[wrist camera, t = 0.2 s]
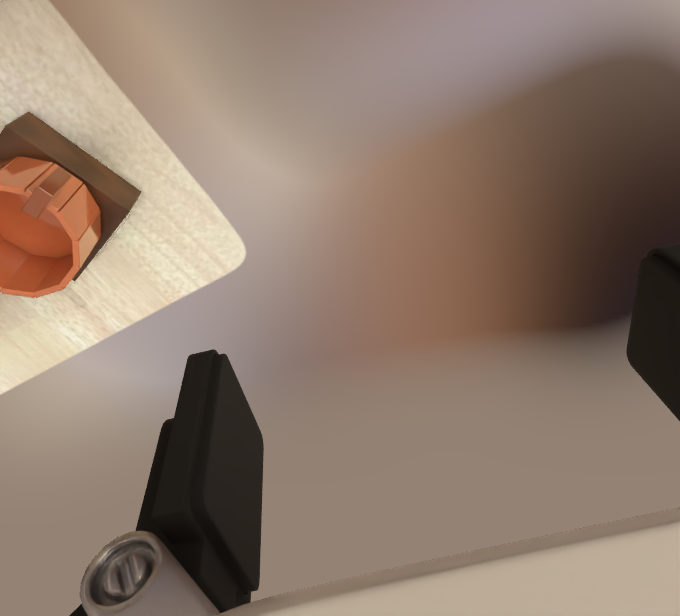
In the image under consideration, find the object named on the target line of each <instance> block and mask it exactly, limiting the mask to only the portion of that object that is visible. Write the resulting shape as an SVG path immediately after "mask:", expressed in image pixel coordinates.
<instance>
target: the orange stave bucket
mask: <svg viewBox="0 0 680 616" xmlns="http://www.w3.org/2000/svg"><path fill="white" fill-rule="evenodd" d="M82 183H83V182H82V181H80V180H79V179H77V178H76V177H74V176H73V175H71V174H70V173H69V172H67V171H66V170H64V169H63V168H61V167H60V166H58V165H57V164H54V165H53V162H48V161H42V160H37V159H32V158H27V157H21V156H20V157H15V158H12V159H9V160H6V161H3V162H0V292H2V294H10V295H17V296H24V297H32V298H35V297H36V298H37V297H40V296H44V295H47V294H50V293H53V292H56V291H60V290H63V289H64V288H65V287H66V286H67V285H68V284H69V282H70V281H71V280H72V278H73V277H74V276H75V275H76V273H77V272H78V271H79V269H80V268H81V266H82V265H83V263H84V262H85V260H86V259H87V257H88V255H89V254H90V252H91V251H92V249H93V248H94V246H95V245H96V243H97V241H98V240H99V238H100V236H101V223H100V211H99V210H100V209H99V207H98V205H97V204H96V202H95V200H94V199H93V197H92V196H91V194H90V192H89V191H88V189H87V187H86V186H85V184H82Z"/></svg>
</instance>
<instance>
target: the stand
mask: <svg viewBox="0 0 680 616" xmlns="http://www.w3.org/2000/svg"><path fill="white" fill-rule="evenodd" d="M20 156H21V157H27V158H32V159H37V160H42V161H48V162H53V165H54V164H57V165H58V166H60V167H61V168H63V169H64V170H66V171H67V172H69V173H70V174H71V175H73V176H74V177H76V178H77V179H79V180H80V181H82V182H83V183H82V184H85V186H86V187H87V189H88V191H89V192H90V194H91V196H92V197H93V199H94V200H95V202H96V204H97V205H98V207H99V209H100V210H99V211H100V223H101V236H100V238H99V240H98V241H97V243H96V245H95V246H94V248H93V249H92V251H91V252H90V254H89V255H88V257H87V259H86V260H85V262H84V263H83V265H82V266H81V268H80V269H79V271H78V272H77V273H76V275H75V276H74V277H73V278H72V280H74V281H76V279H77V278H78V277H79V276H80V274H81V273H82V272H83V270H84V269H85V268H86V267H87V265H88V264H89V263H90V261H91V260H92V259H93V258H94V256H95V255H96V254H97V253H98V251H99V250H100V249H101V247H102V246H103V245H104V244H105V242H106V241H107V240H108V238H109V237H110V236H111V235H112V233H113V232H114V231H115V230H116V228H117V227H118V226H119V224H120V223H121V222H122V221H123V219H124V218H125V217H126V216H127V214H128V213H129V212H130V210H131V208H132V207H133V205H134V203H135V202H136V200H137V198H138V197H139V195H140V193H141V191H139V190H138V189H136V188H135V187H134V186H132V185H131V184H129V183H128V182H127V181H125V180H124V179H122V178H121V177H120V176H118V175H117V174H115V173H114V172H113V171H111V170H110V169H108V168H107V167H106V166H104V165H103V164H101V163H100V162H99V161H97V160H96V159H94V158H93V157H92V156H90V155H89V154H87V153H86V152H85V151H83V150H82V149H80V148H79V147H78V146H76V145H75V144H73V143H72V142H71V141H69V140H68V139H66V138H65V137H64V136H62V135H61V134H59V133H58V132H57V131H55V130H54V129H52V128H51V127H50V126H48V125H47V124H45V123H44V122H43V121H41V120H40V119H38V118H37V117H36V116H34V115H33V114H31V113H30V112H27V113H26V114H24V115H22V116H21V117H19V118H17V119H16V120H14V121H12V122H11V123H9V124H7V125H6V126H5V127H4V129H3V131H2V132H1V134H0V162H3V161H6V160H9V159H12V158H15V157H20Z"/></svg>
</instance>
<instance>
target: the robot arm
mask: <svg viewBox="0 0 680 616" xmlns="http://www.w3.org/2000/svg"><path fill="white" fill-rule="evenodd" d="M627 357H628V360H629V362H630V364H631V366H632V367H633V368H634V369H635V371H636V372H637V373H638V374H639V375H640V376H641V377H642V379H643V380H644V381H645V382H646V383H647V384H648V385H649V386H650V388H651V389H652V390H653V391H654V392H655V393H656V395H657V396H658V397H659V398H660V399H661V400H662V401H663V403H664V404H665V405H666V406H667V407H668V408H669V409H670V411H671V412H672V413H673V414H674V415H675V416H676V417H677V419H678V420H679V421H680V243H678V244H673V245H669V246H664V247H660V248H656V249H652V250H651V251H650V252H649V253H648V255H647V257H646V258H644V259H643V260H642V261H641V264H640V269H639V275H638V282H637V288H636V294H635V300H634V307H633V313H632V319H631V325H630V332H629V338H628V344H627ZM263 449H264V448H263V438H262V434H261V431H260V429H259V427H258V425H257V422H256V420H255V418H254V415H253V413H252V411H251V409H250V407H249V404H248V402H247V400H246V397H245V395H244V393H243V391H242V388H241V386H240V384H239V382H238V380H237V377H236V375H235V373H234V370H233V368H232V366H231V364H230V361H229V359H228V357H227V355H226V354H220V355H219V354H218V353H217V351H216V350H209V351H205V352H200V353H196V354H192V355H190V356H189V357H188V359H187V364H186V368H185V373H184V377H183V381H182V386H181V390H180V394H179V399H178V403H177V407H176V412H175V416H174V418H172V419H168V420H166V421H165V422H164V423H163V426H162V428H161V432H160V436H159V440H158V444H157V449H156V452H155V456H154V460H153V464H152V468H151V472H150V476H149V480H148V484H147V488H146V492H145V496H144V500H143V503H142V507H141V511H140V515H139V519H138V523H137V527H136V531H135V532H129V533H127V534H124V535H122V536H120V537H117V538H116V539H114V540H113V541H112V542H110V543H109V544H107V545H106V546H105V547H104V548H103V549H102V550H101V551H100V552H99V553H98V554H97V555H96V556H95V557H94V559H93V560H92V561H91V563H90V564H89V566H88V567H87V569H86V571H85V574H84V576H83V579H82V582H81V587H80V598H81V602H82V604H81V605H80V606H79V607H78V608H77V609H76V610H75V611H74V612H73V613H72V614H71V615H70V616H680V508H675V509H671V510H666V511H661V512H656V513H652V514H647V515H642V516H636V517H632V518H627V519H622V520H617V521H613V522H608V523H603V524H598V525H594V526H589V527H584V528H579V529H574V530H570V531H565V532H560V533H555V534H551V535H546V536H541V537H537V538H532V539H527V540H522V541H518V542H513V543H508V544H504V545H499V546H494V547H489V548H485V549H480V550H475V551H471V552H466V553H461V554H457V555H453V556H448V557H443V558H438V559H433V560H429V561H425V562H420V563H416V564H411V565H406V566H401V567H397V568H392V569H387V570H383V571H378V572H374V573H369V574H364V575H360V576H355V577H351V578H347V579H342V580H338V581H334V582H330V583H325V584H321V585H317V586H312V587H308V588H304V589H300V590H296V591H291V592H287V593H283V594H279V595H276V596H272V597H269V598H265V599H261V600H258V601H255V602H251V603H250V600H251V591H256V590H258V587H259V579H260V578H259V577H260V546H261V512H262V481H263Z"/></svg>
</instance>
